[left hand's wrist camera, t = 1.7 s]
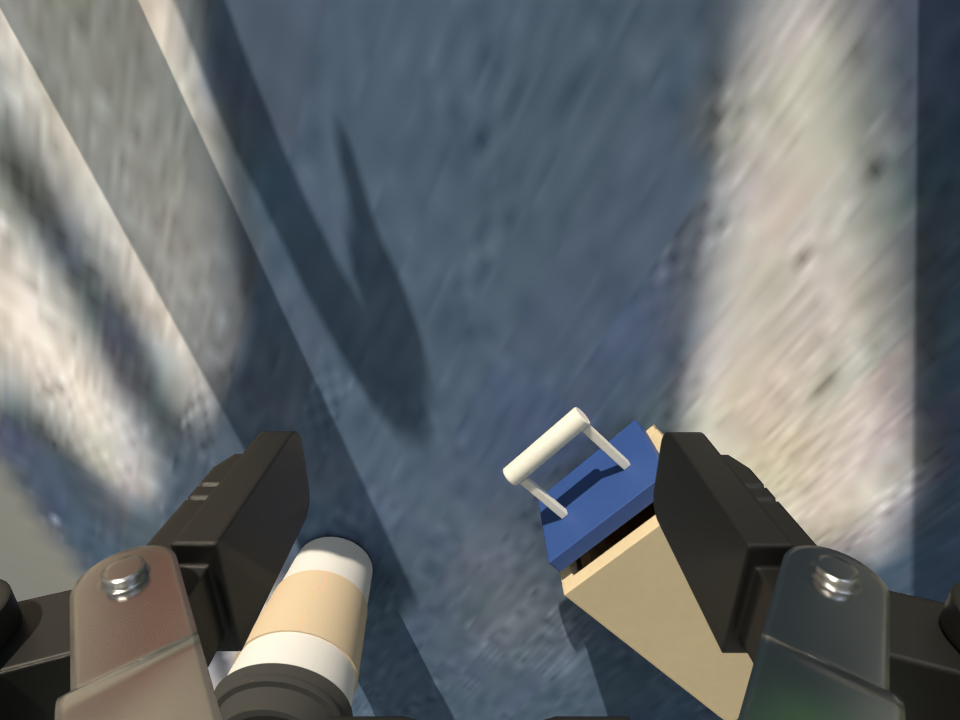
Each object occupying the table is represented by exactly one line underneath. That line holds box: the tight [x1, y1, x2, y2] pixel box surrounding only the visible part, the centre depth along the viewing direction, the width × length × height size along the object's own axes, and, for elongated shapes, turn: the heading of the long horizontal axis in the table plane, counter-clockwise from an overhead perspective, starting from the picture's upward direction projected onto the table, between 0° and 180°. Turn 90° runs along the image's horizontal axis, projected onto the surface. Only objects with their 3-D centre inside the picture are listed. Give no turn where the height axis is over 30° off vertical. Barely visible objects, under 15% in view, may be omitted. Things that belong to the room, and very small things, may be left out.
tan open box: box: [560, 424, 753, 720], centre depth 39 cm, size 19×11×9 cm, turn 46°
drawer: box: [503, 407, 659, 572], centre depth 38 cm, size 23×10×7 cm, turn 46°
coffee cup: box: [214, 537, 373, 720], centre depth 38 cm, size 9×9×15 cm
